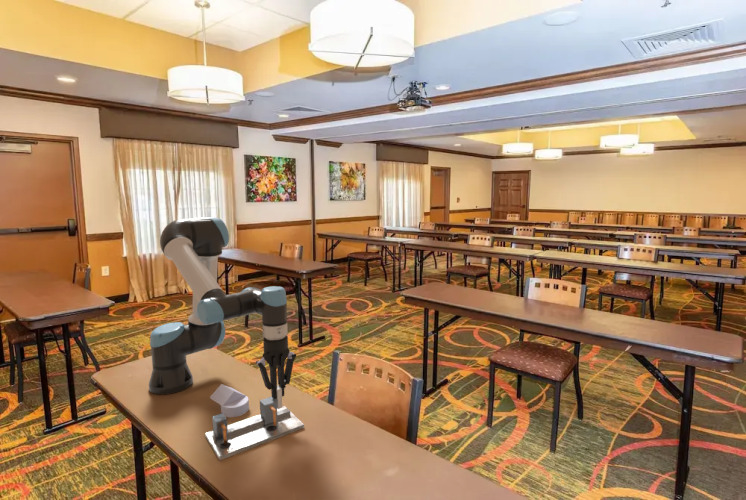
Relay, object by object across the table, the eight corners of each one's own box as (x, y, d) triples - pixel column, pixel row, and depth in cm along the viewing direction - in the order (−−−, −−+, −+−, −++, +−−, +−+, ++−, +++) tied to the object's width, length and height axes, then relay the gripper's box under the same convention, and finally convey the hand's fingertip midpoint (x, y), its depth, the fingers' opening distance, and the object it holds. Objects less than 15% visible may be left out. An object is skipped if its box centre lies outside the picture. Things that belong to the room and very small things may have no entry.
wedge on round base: (210, 407, 142) (230, 420, 134) (208, 388, 141) (228, 401, 133) (233, 397, 149) (254, 409, 141) (232, 379, 148) (253, 390, 140)
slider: (260, 419, 132) (259, 400, 131) (272, 415, 134) (271, 396, 133) (269, 429, 126) (268, 409, 125) (281, 425, 128) (281, 405, 127)
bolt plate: (205, 436, 125) (203, 413, 124) (284, 409, 140) (284, 388, 139) (219, 460, 114) (217, 434, 113) (304, 427, 129) (303, 404, 128)
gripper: (259, 344, 122) (263, 418, 126) (299, 335, 130) (302, 405, 133) (250, 337, 128) (254, 408, 132) (289, 328, 136) (292, 396, 139)
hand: (278, 406), depth 133 cm, fingers closed
